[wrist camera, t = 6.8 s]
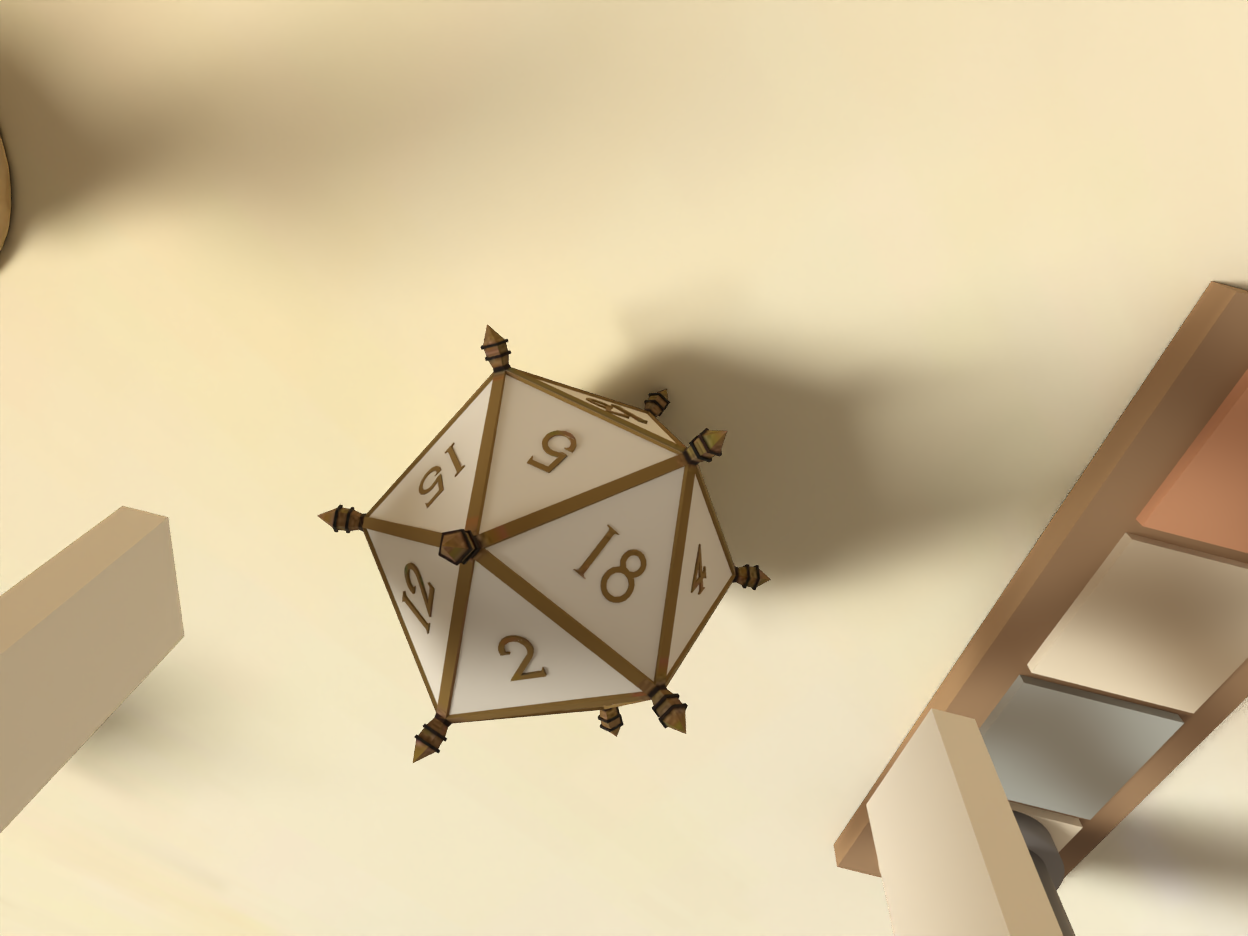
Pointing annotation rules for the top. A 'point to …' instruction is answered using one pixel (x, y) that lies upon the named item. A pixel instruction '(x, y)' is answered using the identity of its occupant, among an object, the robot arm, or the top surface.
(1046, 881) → the pawn
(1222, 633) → the track
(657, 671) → the game die
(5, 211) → the hand bell
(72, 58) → the top surface
